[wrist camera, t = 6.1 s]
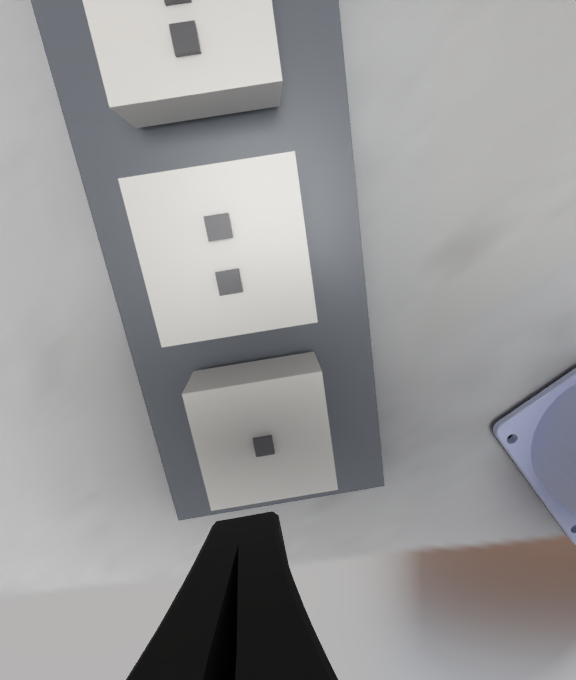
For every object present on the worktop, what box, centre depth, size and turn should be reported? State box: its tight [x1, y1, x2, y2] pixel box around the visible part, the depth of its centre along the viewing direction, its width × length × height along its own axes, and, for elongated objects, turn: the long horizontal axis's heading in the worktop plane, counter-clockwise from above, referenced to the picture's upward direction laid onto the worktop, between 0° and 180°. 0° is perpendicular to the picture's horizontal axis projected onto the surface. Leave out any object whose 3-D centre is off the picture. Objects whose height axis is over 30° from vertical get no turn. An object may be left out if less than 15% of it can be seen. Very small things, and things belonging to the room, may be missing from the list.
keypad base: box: [31, 0, 384, 520], centre depth 15 cm, size 24×10×2 cm, turn 9°
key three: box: [82, 0, 283, 128], centre depth 11 cm, size 5×5×2 cm
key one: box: [182, 351, 338, 511], centre depth 15 cm, size 5×5×2 cm
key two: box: [118, 151, 318, 348], centre depth 12 cm, size 5×5×2 cm
